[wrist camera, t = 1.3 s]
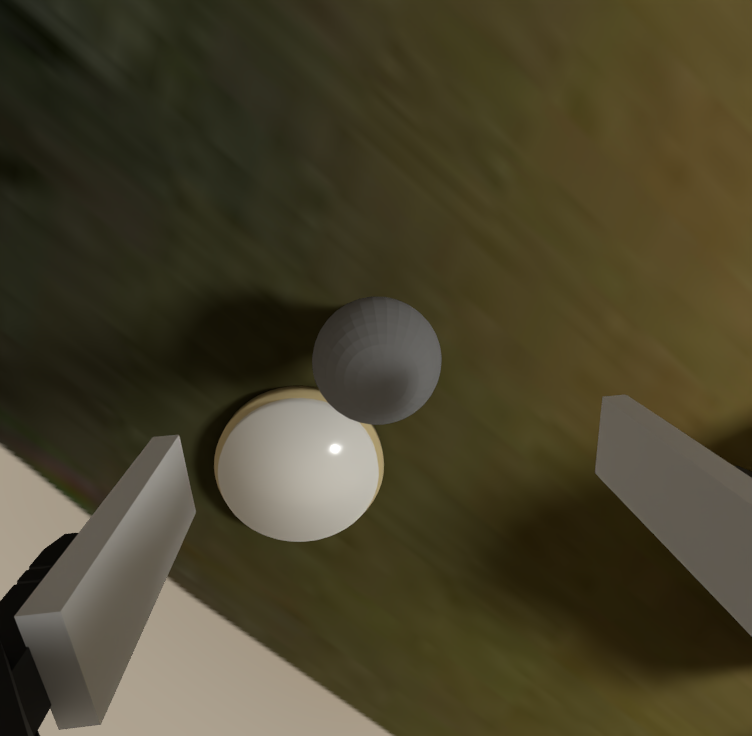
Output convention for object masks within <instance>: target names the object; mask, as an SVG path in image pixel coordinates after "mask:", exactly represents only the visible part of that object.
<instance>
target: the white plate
mask: <svg viewBox="0 0 752 736" xmlns="http://www.w3.org/2000/svg"><path fill="white" fill-rule="evenodd" d="M214 471H215V478H216V482H217V485H218V488H219V490H220V493H221V495H222V497H223V498H224V500H225V502H226V503H227V505H228V507H229V508H230V510H231V511H232V512H233V513H234V514H235V516H236V517H237V518H238V519H240V520H241V521H242V522H243V523H244V524H246V525H247V526H248V527H250V528H251V529H253V530H255V531H257V532H259V533H261V534H263V535H266V536H268V537H271V538H275V539H279V540H285V541H295V542H302V541H312V540H318V539H322V538H326V537H329V536H331V535H334V534H336V533H338V532H340V531H342V530H344V529H346V528H347V527H349V526H350V525H351V524H353V523H354V522H355V521H356V520H357V519H358V518H360V516H361V515H362V514H363V513H364V512H365V511H366V510H367V509H368V507H369V506H370V505H371V503H372V502H373V500H374V499H375V497H376V495H377V493H378V491H379V489H380V485H381V482H382V478H383V472H384V460H383V452H382V447H381V443H380V439H379V436H378V434H377V431H376V429H375V427H374V425H371V424H365V423H360V422H357V421H354V420H351V419H349V418H347V417H345V416H344V415H342V414H340V413H339V412H337V411H336V410H335V409H334V408H333V407H332V406H331V405H330V404H329V403H328V402H327V401H326V399H325V398H324V397H323V395H322V394H321V392H320V390H319V388H318V387H312V386H288V387H281V388H277V389H273V390H270V391H267V392H265V393H262V394H260V395H258V396H256V397H255V398H253V399H251V400H249V401H248V402H247V403H246V404H244V405H243V406H242V407H241V408H240V409H239V410H238V411H237V412H236V413H235V414H234V415H233V416H232V418H231V419H230V420H229V422H228V423H227V425H226V427H225V429H224V431H223V433H222V435H221V437H220V439H219V442H218V445H217V447H216V452H215V458H214Z"/></svg>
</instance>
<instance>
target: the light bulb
mask: <svg viewBox="0 0 752 736" xmlns="http://www.w3.org/2000/svg"><path fill="white" fill-rule="evenodd" d="M312 364H313V373H314V378H315V382H316V384H317V386H318V388H319V390H320V392H321V394H322V395H323V397H324V398H325V399H326V401H327V402H328V403H329V404H330V405H331V406H332V407H333V408H334V409H335V410H336V411H337V412H339V413H340V414H342V415H344V416H345V417H347V418H349V419H351V420H354V421H357V422H360V423H365V424H371V425H373V424H388V423H393V422H396V421H399V420H401V419H404V418H406V417H408V416H409V415H411V414H413V413H414V412H416V411H417V410H418V409H419V408H420V407H422V406H423V405H424V404H425V402H426V401H427V400H428V399H429V397H430V396H431V394H432V392H433V390H434V388H435V387H436V385H437V382H438V378H439V375H440V371H441V350H440V344H439V342H438V339H437V336H436V334H435V332H434V330H433V329H432V327H431V325H430V324H429V322H428V321H427V320H426V319H425V318H424V317H423V316H422V315H421V314H420V313H419V312H418V311H417V310H415V309H414V308H412V307H411V306H410V305H408V304H406V303H403V302H401V301H399V300H396V299H392V298H387V297H367V298H362V299H358V300H355V301H353V302H350V303H348V304H346V305H345V306H343V307H341V308H340V309H338V310H337V311H336V312H335V313H334V314H333V315H332V316H331V317H330V318H329V319H328V320H327V321H326V323H325V324H324V326H323V327H322V328H321V330H320V332H319V334H318V337H317V339H316V341H315V345H314V351H313V356H312Z"/></svg>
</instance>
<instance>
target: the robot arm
mask: <svg viewBox="0 0 752 736" xmlns="http://www.w3.org/2000/svg"><path fill="white" fill-rule="evenodd" d="M595 474H596V475H597V476H598V477H599V478H600V479H601V480H602V481H603V482H604V483H605V484H606V485H607V486H608V487H609V488H610V489H611V490H612V491H613V492H614V493H615V494H616V495H617V497H618V498H619V499H620V500H621V501H622V502H623V503H624V504H625V505H626V506H627V507H628V508H629V509H630V510H631V511H632V512H633V513H634V514H635V515H636V516H637V517H638V518H639V519H640V521H641V522H642V523H643V524H644V525H645V526H646V527H647V528H648V529H649V530H650V531H651V532H652V533H653V534H654V535H655V536H656V537H657V538H658V539H659V540H660V541H661V542H662V543H663V544H664V546H665V547H666V548H667V549H668V550H669V551H670V552H671V553H672V554H673V555H674V556H675V557H676V558H677V559H678V560H679V561H680V562H681V563H682V564H683V565H684V566H685V567H686V568H687V570H688V571H689V572H690V573H691V574H692V575H693V576H694V577H695V578H696V579H697V580H698V581H699V582H700V583H701V584H702V585H703V586H704V587H705V588H706V589H707V590H708V591H709V592H710V594H711V595H712V596H713V597H714V598H715V599H716V600H717V601H718V602H719V603H720V604H721V605H722V606H723V607H724V608H725V609H726V610H727V611H728V612H729V613H730V614H731V615H732V616H733V617H734V619H735V620H736V621H737V622H738V623H739V624H740V625H741V626H742V627H743V628H744V629H745V630H746V631H747V632H748V633H749V634H750V635H751V636H752V471H749V470H747V469H744V468H742V467H739V466H733V465H732V464H730V463H728V462H727V461H725V460H724V459H722V458H721V457H719V456H718V455H716V454H715V453H713V452H712V451H710V450H709V449H707V448H706V447H704V446H703V445H701V444H700V443H698V442H697V441H695V440H694V439H692V438H691V437H689V436H688V435H686V434H685V433H683V432H682V431H680V430H679V429H677V428H676V427H674V426H673V425H671V424H670V423H668V422H667V421H665V420H664V419H662V418H661V417H659V416H657V415H656V414H654V413H653V412H651V411H650V410H648V409H647V408H645V407H644V406H642V405H641V404H639V403H638V402H636V401H635V400H633V399H632V398H630V397H629V396H627V395H617V396H606V397H603V398H602V408H601V418H600V428H599V437H598V447H597V457H596V467H595ZM195 513H196V511H195V506H194V501H193V497H192V492H191V488H190V483H189V478H188V474H187V469H186V465H185V460H184V455H183V451H182V446H181V442H180V437H179V435H171V436H160V437H153V438H152V439H151V440H150V442H149V443H148V444H147V446H146V447H145V448H144V449H143V451H142V452H141V453H140V455H139V456H138V457H137V458H136V460H135V461H134V462H133V464H132V465H131V466H130V467H129V469H128V470H127V471H126V473H125V474H124V475H123V477H122V478H121V479H120V480H119V482H118V483H117V484H116V486H115V487H114V488H113V489H112V491H111V492H110V493H109V495H108V496H107V497H106V498H105V500H104V501H103V502H102V504H101V505H100V506H99V507H98V509H97V510H96V511H95V513H94V514H93V515H92V517H91V518H90V519H89V521H88V522H87V523H86V524H85V526H84V527H83V528H82V529H81V531H80V532H79V533H71V534H64V535H63V536H62V537H60V538H59V539H58V540H56V541H55V542H53V543H52V544H51V545H49V546H48V547H47V548H45V549H44V550H43V551H42V552H41V553H40V555H39V556H38V557H37V558H36V559H35V560H34V562H33V563H32V564H31V565H30V566H29V570H26V571H25V573H24V574H23V575H22V576H21V577H20V578H19V580H18V581H17V585H14V586H13V587H12V588H11V589H10V590H9V592H8V593H7V594H6V595H5V596H4V597H3V599H2V600H1V601H0V736H40V735H39V733H38V729H39V727H40V725H41V723H42V721H43V720H44V718H45V716H46V714H47V713H48V711H49V709H51V711H52V714H53V716H54V719H55V721H56V724H57V726H58V729H59V730H60V729H68V728H77V727H85V726H92V725H100V724H101V723H102V720H103V718H104V716H105V713H106V712H107V709H108V707H109V705H110V703H111V700H112V698H113V696H114V694H115V691H116V689H117V687H118V685H119V683H120V680H121V678H122V676H123V673H124V671H125V669H126V667H127V665H128V662H129V660H130V658H131V656H132V654H133V651H134V649H135V647H136V644H137V642H138V640H139V638H140V636H141V633H142V631H143V629H144V627H145V624H146V622H147V620H148V618H149V616H150V613H151V611H152V609H153V606H154V605H155V602H156V600H157V598H158V596H159V593H160V591H161V589H162V586H163V584H164V582H165V580H166V578H167V576H168V573H169V571H170V569H171V567H172V564H173V562H174V560H175V558H176V556H177V553H178V551H179V549H180V547H181V544H182V542H183V540H184V538H185V535H186V533H187V531H188V529H189V527H190V524H191V522H192V520H193V518H194V515H195Z"/></svg>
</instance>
